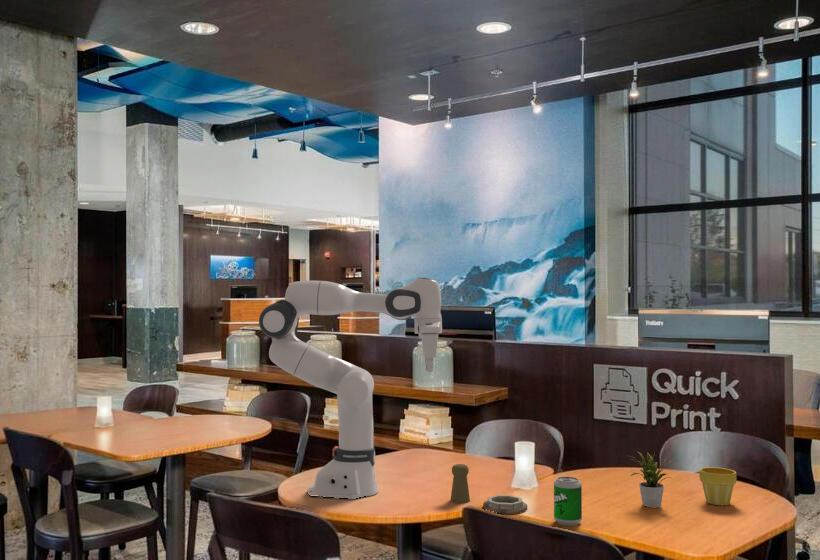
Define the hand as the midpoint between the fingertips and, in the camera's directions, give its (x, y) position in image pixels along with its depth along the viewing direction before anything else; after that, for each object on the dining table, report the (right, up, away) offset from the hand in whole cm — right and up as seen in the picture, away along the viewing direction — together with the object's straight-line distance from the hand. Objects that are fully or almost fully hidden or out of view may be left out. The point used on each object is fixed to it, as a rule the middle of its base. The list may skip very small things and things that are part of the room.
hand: (429, 371), depth 243 cm
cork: (+9, -39, -10) cm, 41 cm away
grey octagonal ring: (+22, -38, -18) cm, 48 cm away
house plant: (+65, -38, -15) cm, 77 cm away
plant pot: (+87, -39, -13) cm, 96 cm away
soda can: (+37, -38, -33) cm, 63 cm away
